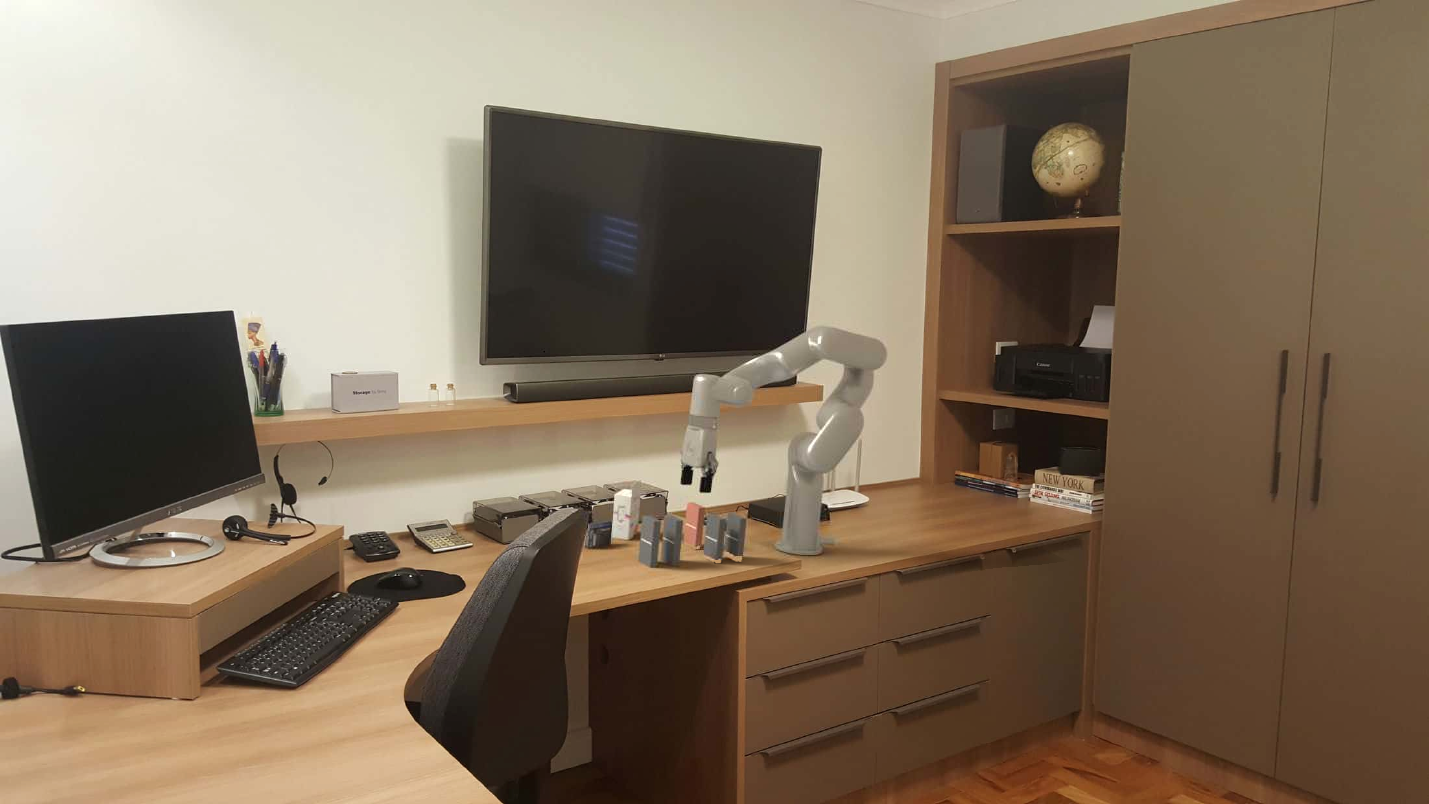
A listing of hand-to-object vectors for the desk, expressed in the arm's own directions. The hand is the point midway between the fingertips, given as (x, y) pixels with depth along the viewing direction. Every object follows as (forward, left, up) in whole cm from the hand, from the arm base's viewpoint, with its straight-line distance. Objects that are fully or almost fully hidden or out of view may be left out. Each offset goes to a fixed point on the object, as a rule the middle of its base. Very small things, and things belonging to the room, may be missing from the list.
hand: (695, 488), depth 259 cm
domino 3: (-1, 0, -15) cm, 15 cm away
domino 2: (+8, +17, -15) cm, 24 cm away
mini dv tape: (+24, +4, -16) cm, 29 cm away
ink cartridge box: (+16, -8, -16) cm, 24 cm away
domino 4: (-3, +13, -15) cm, 20 cm away
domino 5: (-9, +11, -15) cm, 21 cm away
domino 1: (+13, +19, -15) cm, 28 cm away
